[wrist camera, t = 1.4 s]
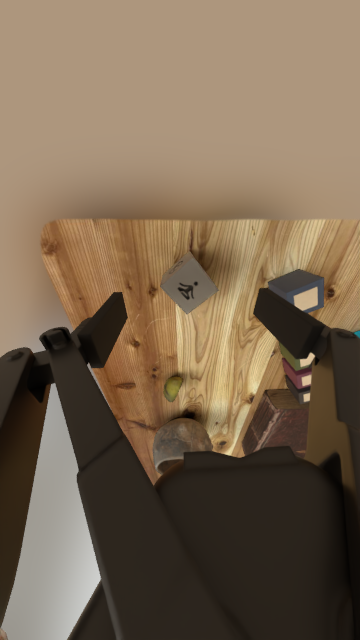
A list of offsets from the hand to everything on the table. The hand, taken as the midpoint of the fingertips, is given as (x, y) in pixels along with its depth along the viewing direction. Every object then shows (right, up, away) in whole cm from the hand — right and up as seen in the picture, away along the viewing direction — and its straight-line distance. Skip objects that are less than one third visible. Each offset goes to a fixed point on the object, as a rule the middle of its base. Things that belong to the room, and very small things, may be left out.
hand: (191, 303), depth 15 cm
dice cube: (0, +5, +8) cm, 9 cm away
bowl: (-1, -31, +30) cm, 43 cm away
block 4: (+26, -15, +21) cm, 36 cm away
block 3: (+23, -10, +18) cm, 31 cm away
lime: (-2, -15, +19) cm, 25 cm away
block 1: (+15, +3, +9) cm, 18 cm away
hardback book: (+29, -31, +31) cm, 52 cm away
